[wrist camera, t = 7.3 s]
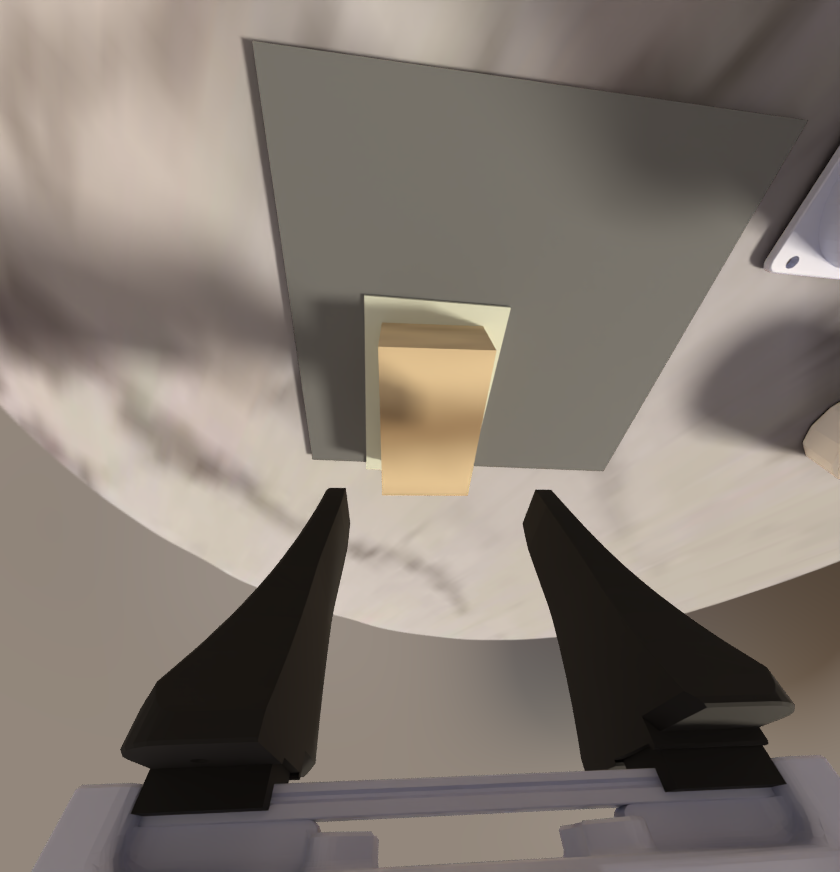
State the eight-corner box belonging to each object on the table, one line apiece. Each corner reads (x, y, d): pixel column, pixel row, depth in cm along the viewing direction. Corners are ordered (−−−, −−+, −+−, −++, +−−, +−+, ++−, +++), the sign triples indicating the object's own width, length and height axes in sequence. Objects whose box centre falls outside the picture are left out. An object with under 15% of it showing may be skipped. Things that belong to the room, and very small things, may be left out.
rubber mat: (798, 121, 13) (813, 119, 12) (597, 472, 24) (601, 478, 23) (256, 44, 11) (249, 38, 10) (314, 461, 22) (312, 467, 22)
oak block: (460, 461, 22) (467, 495, 19) (384, 460, 22) (382, 495, 19) (483, 326, 16) (496, 350, 14) (381, 322, 16) (378, 346, 14)
